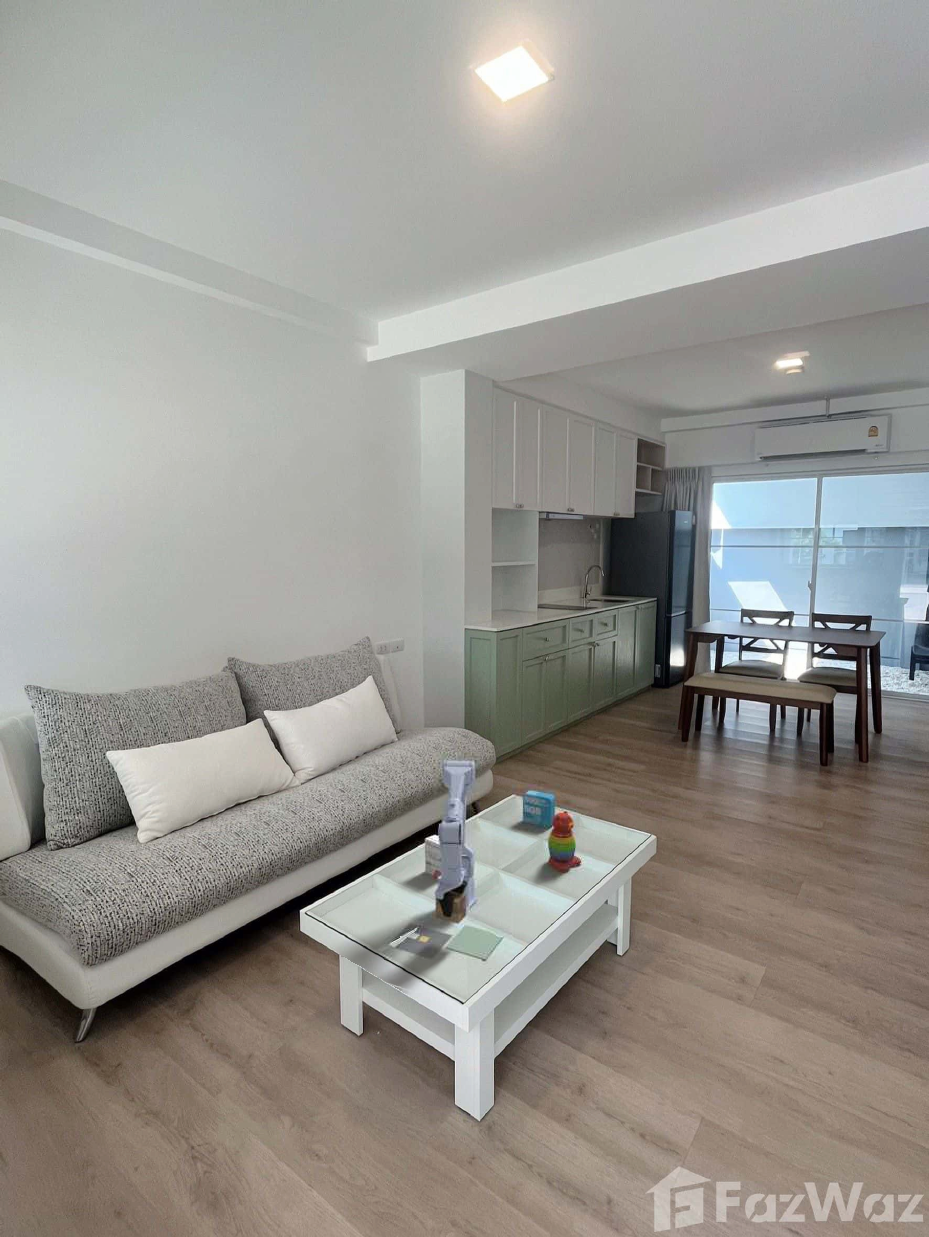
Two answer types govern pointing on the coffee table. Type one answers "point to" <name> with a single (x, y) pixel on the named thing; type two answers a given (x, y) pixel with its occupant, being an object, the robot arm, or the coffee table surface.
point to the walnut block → (453, 909)
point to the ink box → (433, 856)
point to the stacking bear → (562, 843)
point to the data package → (538, 808)
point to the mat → (474, 942)
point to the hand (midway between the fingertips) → (451, 911)
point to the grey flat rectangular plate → (422, 941)
